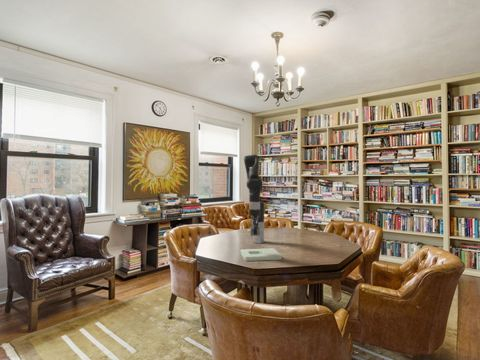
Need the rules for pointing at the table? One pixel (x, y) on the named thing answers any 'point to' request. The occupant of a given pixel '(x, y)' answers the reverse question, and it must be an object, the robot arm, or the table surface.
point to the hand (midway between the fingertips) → (254, 233)
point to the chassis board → (260, 254)
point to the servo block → (253, 231)
